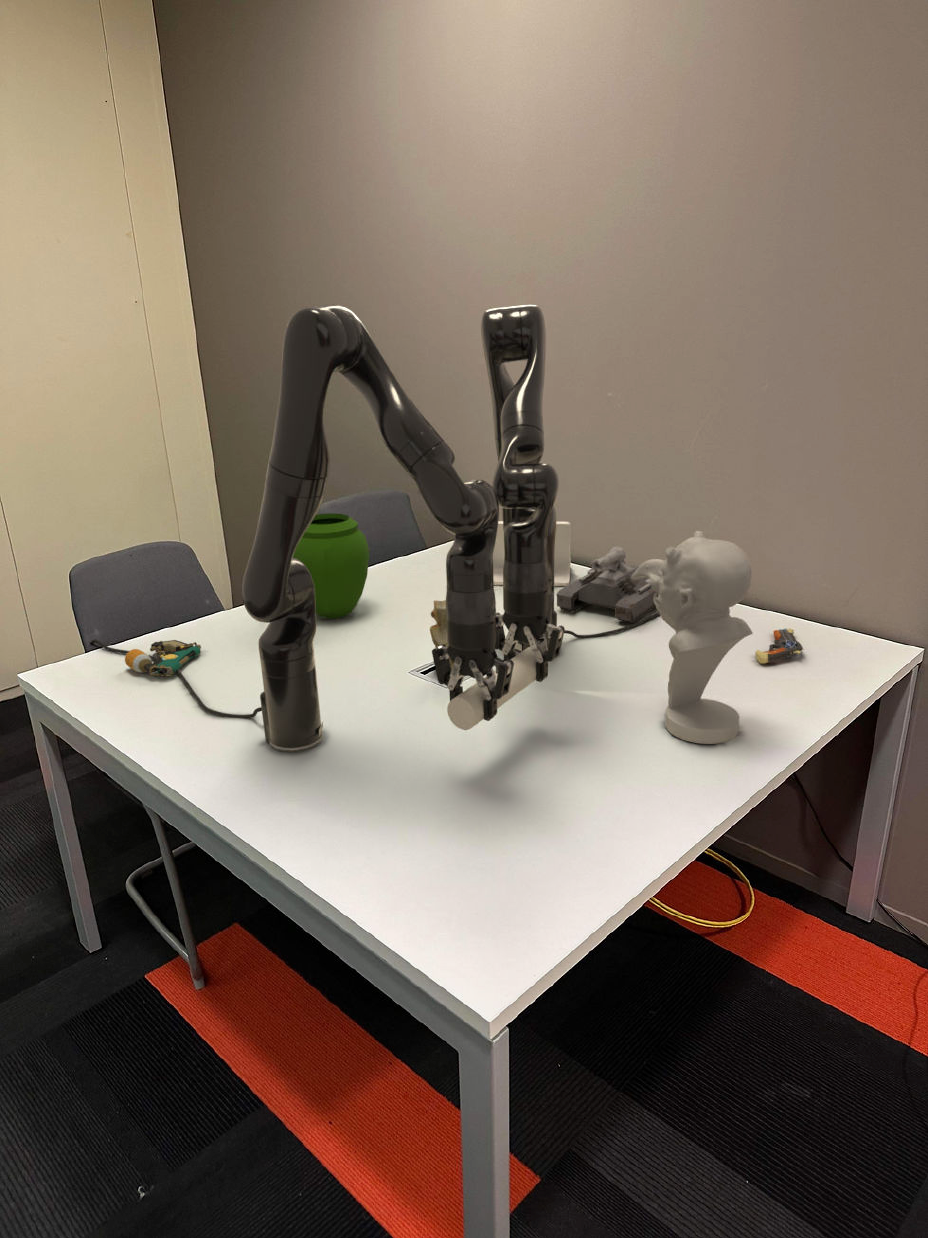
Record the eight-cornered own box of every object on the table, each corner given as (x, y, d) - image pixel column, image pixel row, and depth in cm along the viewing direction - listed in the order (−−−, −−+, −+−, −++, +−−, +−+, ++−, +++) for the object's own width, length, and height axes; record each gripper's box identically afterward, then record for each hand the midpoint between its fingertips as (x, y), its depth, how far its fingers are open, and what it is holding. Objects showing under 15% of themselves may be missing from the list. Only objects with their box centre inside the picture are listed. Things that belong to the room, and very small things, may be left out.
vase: (389, 608, 216) (383, 514, 208) (339, 633, 201) (330, 533, 192) (330, 596, 226) (322, 506, 218) (278, 619, 211) (267, 523, 202)
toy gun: (758, 654, 176) (809, 651, 174) (746, 627, 194) (792, 624, 192) (758, 667, 177) (809, 664, 175) (747, 638, 195) (793, 635, 193)
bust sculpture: (671, 682, 170) (682, 511, 158) (763, 732, 151) (784, 540, 138) (606, 701, 164) (613, 523, 151) (694, 755, 144) (709, 555, 131)
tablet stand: (569, 585, 229) (570, 524, 223) (476, 584, 232) (475, 523, 226) (570, 566, 246) (571, 508, 240) (484, 564, 249) (483, 507, 243)
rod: (522, 671, 152) (522, 643, 150) (548, 677, 150) (549, 649, 148) (447, 725, 134) (446, 694, 132) (476, 733, 131) (475, 702, 129)
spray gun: (168, 648, 197) (219, 659, 191) (111, 671, 183) (165, 685, 177) (166, 630, 196) (218, 641, 190) (109, 653, 181) (164, 665, 176)
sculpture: (458, 662, 183) (456, 596, 178) (460, 676, 176) (457, 608, 171) (431, 663, 183) (428, 597, 177) (431, 677, 176) (428, 609, 171)
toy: (603, 584, 229) (605, 530, 224) (673, 597, 218) (677, 540, 213) (555, 612, 210) (556, 553, 205) (630, 627, 199) (633, 566, 194)
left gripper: (417, 613, 130) (422, 713, 136) (498, 630, 122) (500, 735, 128) (446, 599, 136) (449, 695, 142) (524, 614, 128) (524, 715, 134)
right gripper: (477, 583, 143) (479, 675, 149) (553, 597, 135) (552, 694, 141) (500, 571, 148) (501, 660, 155) (574, 584, 141) (572, 677, 147)
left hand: (473, 713), depth 135 cm, fingers closed on rod, 5 cm apart
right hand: (525, 676), depth 148 cm, fingers closed on rod, 5 cm apart
